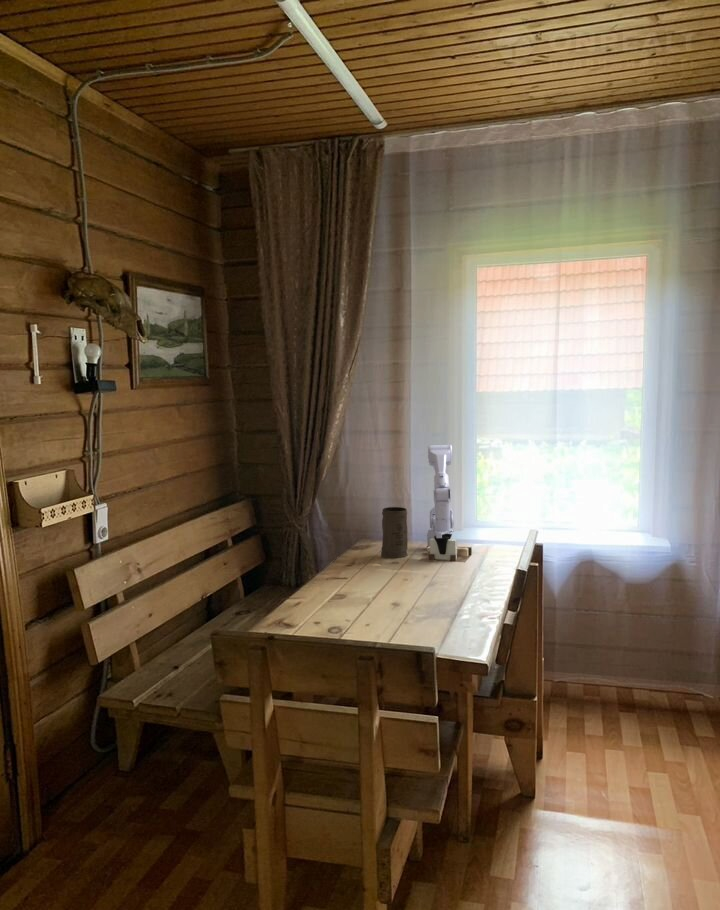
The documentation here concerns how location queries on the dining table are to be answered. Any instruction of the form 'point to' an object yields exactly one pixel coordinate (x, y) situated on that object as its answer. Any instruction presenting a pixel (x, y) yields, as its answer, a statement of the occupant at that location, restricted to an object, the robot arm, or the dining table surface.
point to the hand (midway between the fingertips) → (443, 553)
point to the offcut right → (462, 552)
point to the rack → (452, 557)
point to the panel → (450, 549)
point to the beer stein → (394, 533)
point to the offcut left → (428, 550)
